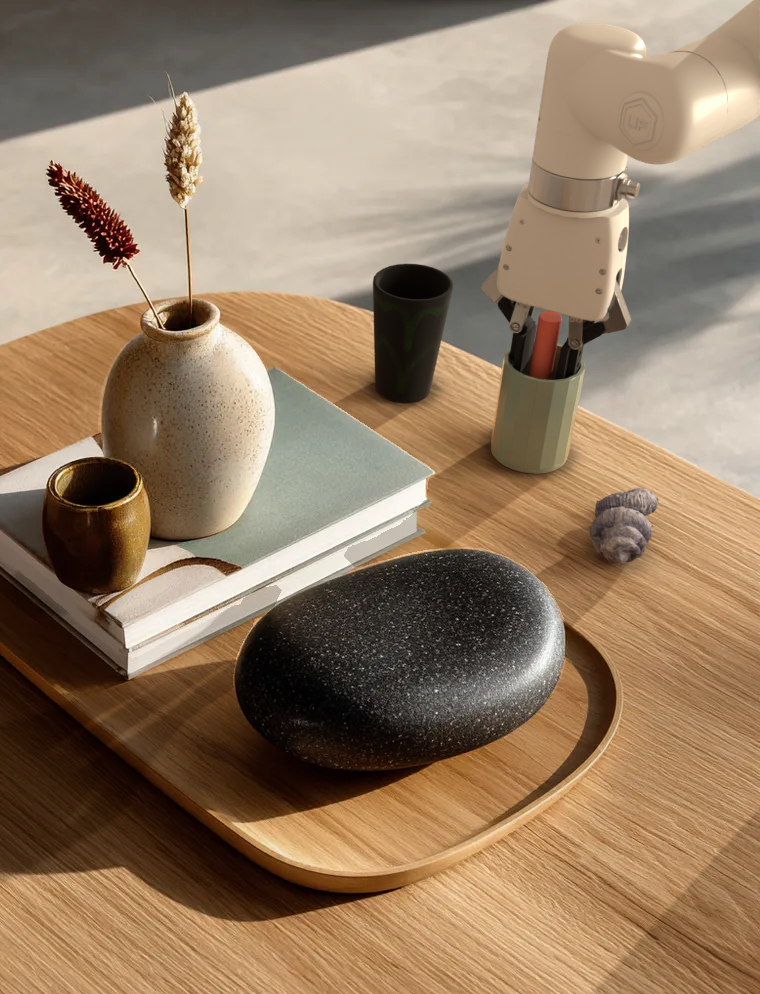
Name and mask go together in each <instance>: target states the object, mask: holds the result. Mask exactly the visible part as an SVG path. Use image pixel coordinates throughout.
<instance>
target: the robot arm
mask: <svg viewBox="0 0 760 994" xmlns="http://www.w3.org/2000/svg"><path fill="white" fill-rule="evenodd" d="M541 90H542V91H541V97H540V103H539V111H538V118H537V124H536V131H535V132H536V133H535V137H534V144H533V152H532V157H531V158H532V159H531V163H530V171H529V178H528V181H527V182H525V183H524V184H523V186H522V188H521V189H520V190H519V193H518V195H517V198H516V201H515V204H514V207H513V209H512V213H511V216H510V219H509V222H508V226H507V229H506V233H505V236H504V237H505V238H504V241H503V244H502V249H501V254H500V259H499V263H498V266H497V267H496V268H494V270H493V271H492V272H491V273H490V275H488V277H487V278H485V280H484V281H483V283H481V285H480V291H481V293H483V294H484V295H485V296H486V297H487V298H488V299H489V300H491V301H492V302H493V303H494V304H497V308H498V309H499V311H500V312H501V313H502V315H503V316H504V317H505V319H506V320H507V322H508V328H509V330H510V331H511V333H512V337H511V343H510V344H511V345H510V347H511V350H510V358H512V359H514V363H513V368H514V369H516V370H517V371H519V372H522V371H523V369H524V368H525V367H526V366H527V364H528V363H529V362H530V361H531V358H532V352H533V346H534V340H535V337H536V331H537V325H538V324H537V323H536V321H535V320H534V319H533V316H534V313H535V309H536V308H537V309H541V310H545V311H551V312H555V313H558V314H559V315H563V316H567V317H568V333H567V334H568V336H567V338H566V341H564V343H563V344H562V345H563V346H562V348H561V351H560V356H559V362H558V367H557V373H556V378H555V380H559V379H566V378H569V377H570V376H573V375H575V374H577V372H578V370H579V367H580V363H581V358H583V352H584V351H583V350H584V347H585V345H586V344H588V343H590V342H592V341H595V340H596V339H597V338H599V337H601V336H602V335H605V334H608V335H609V334H612V333H616V332H620V331H621V332H622V331H623V330H626V329H627V328H628V326H629V325H630V324H631V322H632V317H631V314H630V312H629V311H630V310H629V308H628V306H627V303H626V301H625V298H624V295H623V293H622V289H623V288H622V287H623V283H624V278H625V271H626V263H627V255H628V245H629V244H628V243H629V229H630V209H629V208H630V205H629V202H628V201H627V199H628V198H629V199H632V200H636V199H637V197H638V195H639V194H640V189H641V183H640V182H637V181H633V180H632V178H629V174H627V173H628V169H629V167H628V166H627V163H628V157H629V158H631V159H633V160H636V161H638V162H640V163H645V164H648V165H666V164H671V163H673V162H677V161H679V160H681V159H683V158H685V157H687V156H689V155H691V154H693V153H695V152H697V151H700V150H701V149H702V148H704V147H706V146H708V145H709V144H712V143H714V142H715V141H717V140H719V139H721V138H723V137H725V136H727V135H730V134H731V133H734V132H736V131H737V130H739V129H741V128H743V127H745V126H746V125H748V124H749V123H751V122H753V121H754V120H756V119H757V118H758V117H760V0H751V1H750V2H749V3H748V4H746V5H745V6H744V7H743V8H742V9H740V10H739V11H738V12H736V13H735V14H734V15H733V16H732V17H731V18H729V19H727V20H726V21H725V22H724V23H722V24H721V25H720V26H718V27H717V28H716V29H714V30H713V31H712V32H711V33H709V34H707V35H706V36H704V37H703V38H700V39H698V40H695V41H693V42H689V43H688V44H685V45H683V46H681V47H678V48H675V49H674V50H671V51H668V52H666V53H662V54H657V55H652V56H647V46H646V44H645V42H644V40H643V39H642V38H641V36H639V35H638V34H637V33H635V32H634V31H632V30H630V29H628V28H625V27H622V26H619V25H614V24H609V23H601V22H600V23H598V22H586V23H577V24H571V25H569V26H566V27H564V28H563V29H561V30H559V31H558V32H557V33H556V34H555V35H554V36H553V38H552V40H551V42H550V44H549V48H548V52H547V58H546V63H545V71H544V77H543V84H542V89H541ZM607 312H608V315H607Z"/></svg>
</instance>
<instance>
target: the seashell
mask: <svg viewBox="0 0 760 994" xmlns="http://www.w3.org/2000/svg"><path fill="white" fill-rule="evenodd" d="M655 495H656V494H655V492H654V491H652V490H649V489H648V488H643V487H637V488H633V489H628V490H627V491H623V492H622V491H619V492H616V493H611V494H609V495H607V496H604V497H603V498H601V499H599V500H596V502H595V506H594V507H595V508H594V517H595V518H594V519H593V520H592V522H591V524H590V527H589V530H588V531H589V535H588V536H589V538H590V540H591V542H592V545H593V548H594V549H595V551H596V552H597V553H599V554H600V553H602V556H603V557H604V558H605V559H606V560H607V561H609V563H613V564H620V565H623V564H624V563H631V562H634V561H635V560H637V559H638V558H641V557H642V556H643V555H644V553H645V551H646V547H647V544H648V543H649V541H650V540H651V539H652V537H653V524H651V522H650V521H649V519H648V518H647V516H649V515H651V514H653V513H655V512H656V510H657V507H658V505H659V498H658V497H656V496H655Z"/></svg>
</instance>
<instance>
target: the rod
mask: <svg viewBox="0 0 760 994" xmlns="http://www.w3.org/2000/svg"><path fill="white" fill-rule="evenodd" d="M562 320H563V317H562V314H559V313H556V312H552V311H548V310H545V311H542V312H541V313H539V315H538V320H537V324H536V325H537V328H536V334H535V343H534V349H533V355H532V361H531V367H530V373H529V376H530V377H534V378H537V379H545V380H551V377H552V372H553V366H554V360H555V355H556V349H557V343H558V344H559V337H560V333H561V325H562V322H563V321H562Z"/></svg>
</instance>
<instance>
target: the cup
mask: <svg viewBox="0 0 760 994" xmlns="http://www.w3.org/2000/svg"><path fill="white" fill-rule="evenodd" d="M453 290H454V283H453V281H452V278H451V277H450V276H449V275H448V274H446V273H445V272H444V271H442V270H440V269H439V268H436V267H433V266H430V265H426V264H420V263H398V264H393V265H389V266H386V267H383V268H381V269H380V270H378V271H377V272H376V273H375V274H374V276H373V279H372V302H373V303H372V306H373V309H372V310H373V347H374V348H373V351H374V352H373V353H374V355H373V357H374V388H375V391H376V393H377V394H378V395H379V396H381V397H382V398H384V399H386V400H388V401H390V402H395V403H403V404H410V403H416V402H420V401H422V400H424V399H426V398H427V397H428V396H429V394H430V393H431V389H432V388H431V387H432V384H433V379H434V375H435V371H436V366H437V361H438V358H439V353H440V352H439V351H440V349H441V348H440V347H441V343H442V340H443V335H444V330H445V325H446V321H447V318H448V314H449V313H448V311H449V308H450V303H451V299H452V295H453Z"/></svg>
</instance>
